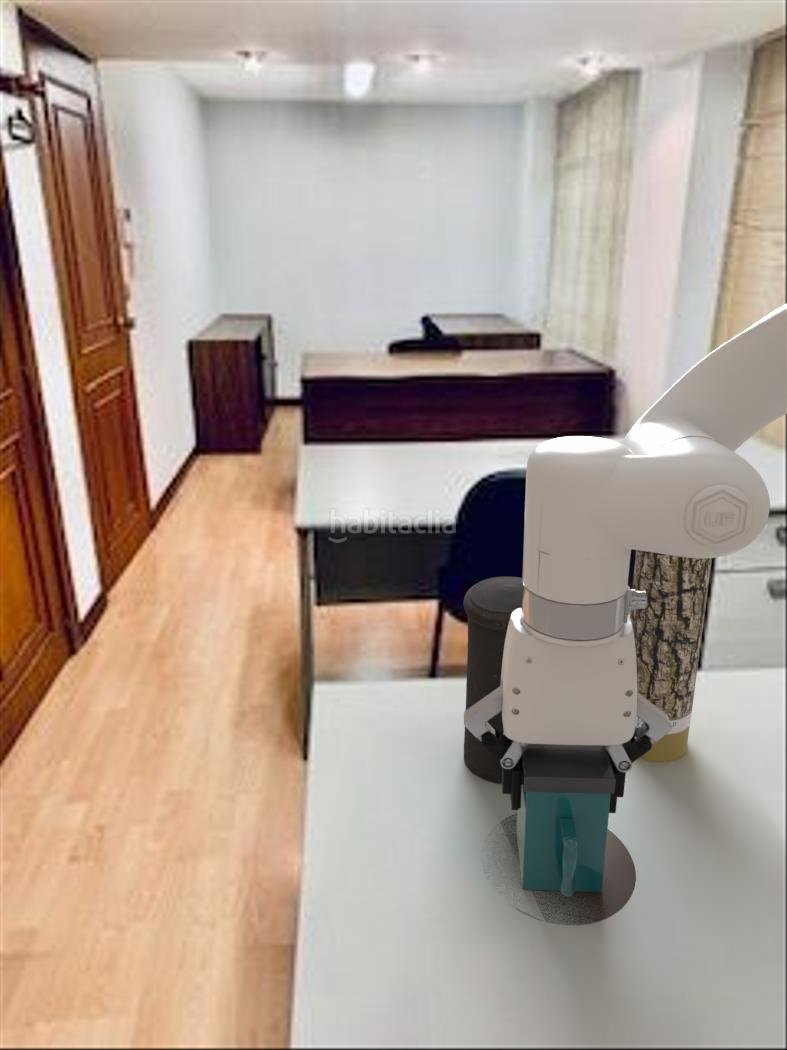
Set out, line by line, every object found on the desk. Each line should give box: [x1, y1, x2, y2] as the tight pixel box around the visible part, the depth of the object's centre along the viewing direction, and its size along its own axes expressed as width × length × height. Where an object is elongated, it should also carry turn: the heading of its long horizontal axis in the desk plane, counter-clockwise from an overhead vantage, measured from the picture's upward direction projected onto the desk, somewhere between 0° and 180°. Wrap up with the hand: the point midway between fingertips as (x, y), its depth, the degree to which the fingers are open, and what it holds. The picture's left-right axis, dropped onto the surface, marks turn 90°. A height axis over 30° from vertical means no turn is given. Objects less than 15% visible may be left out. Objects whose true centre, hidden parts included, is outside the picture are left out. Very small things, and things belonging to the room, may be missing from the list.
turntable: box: [481, 813, 637, 926], centre depth 65 cm, size 13×13×1 cm
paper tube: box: [629, 550, 713, 763], centre depth 76 cm, size 7×7×25 cm
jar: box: [515, 744, 615, 898], centre depth 62 cm, size 9×7×11 cm
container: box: [462, 576, 523, 785], centre depth 75 cm, size 9×9×20 cm
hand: (560, 798), depth 62 cm, fingers closed on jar, 6 cm apart
